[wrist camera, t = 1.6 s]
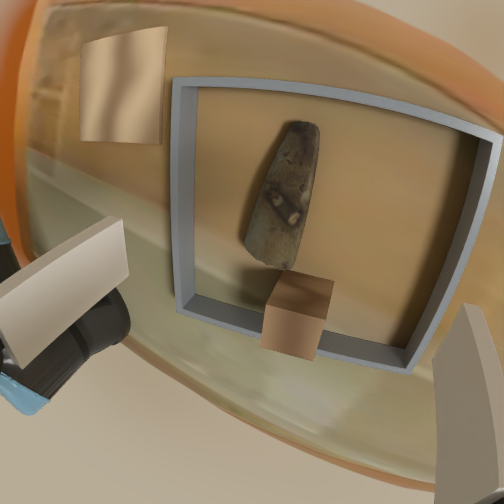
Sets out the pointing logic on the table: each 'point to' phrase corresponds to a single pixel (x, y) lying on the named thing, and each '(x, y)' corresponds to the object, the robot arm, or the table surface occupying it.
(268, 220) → the stone
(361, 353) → the parts tray
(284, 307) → the walnut block
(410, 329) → the table surface
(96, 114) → the cork pad
